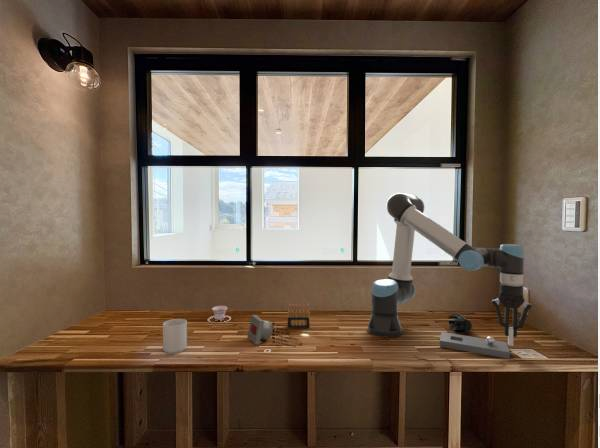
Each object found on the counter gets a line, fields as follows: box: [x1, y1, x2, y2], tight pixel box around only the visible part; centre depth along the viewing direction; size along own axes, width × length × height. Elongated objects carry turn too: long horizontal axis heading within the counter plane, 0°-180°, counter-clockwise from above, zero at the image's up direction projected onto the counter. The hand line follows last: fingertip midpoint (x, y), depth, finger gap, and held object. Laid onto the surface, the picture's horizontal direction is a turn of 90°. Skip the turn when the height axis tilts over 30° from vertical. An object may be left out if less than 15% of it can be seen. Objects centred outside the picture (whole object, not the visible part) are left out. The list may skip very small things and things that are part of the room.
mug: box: [162, 318, 188, 355], centre depth 125 cm, size 12×9×11 cm
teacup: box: [207, 305, 232, 324], centre depth 161 cm, size 12×12×6 cm
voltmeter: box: [247, 314, 301, 348], centre depth 131 cm, size 27×11×10 cm, turn 64°
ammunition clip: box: [286, 302, 311, 329], centre depth 150 cm, size 11×2×12 cm, turn 89°
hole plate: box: [439, 331, 511, 360], centre depth 127 cm, size 24×11×2 cm, turn 62°
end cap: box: [448, 312, 473, 335], centre depth 147 cm, size 10×7×7 cm
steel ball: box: [485, 336, 496, 344], centre depth 124 cm, size 3×3×3 cm
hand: (510, 344), depth 121 cm, fingers closed
